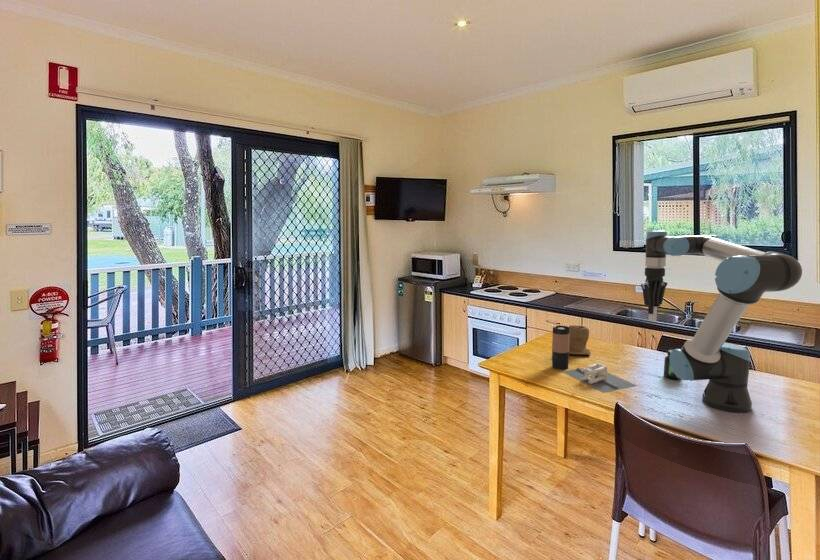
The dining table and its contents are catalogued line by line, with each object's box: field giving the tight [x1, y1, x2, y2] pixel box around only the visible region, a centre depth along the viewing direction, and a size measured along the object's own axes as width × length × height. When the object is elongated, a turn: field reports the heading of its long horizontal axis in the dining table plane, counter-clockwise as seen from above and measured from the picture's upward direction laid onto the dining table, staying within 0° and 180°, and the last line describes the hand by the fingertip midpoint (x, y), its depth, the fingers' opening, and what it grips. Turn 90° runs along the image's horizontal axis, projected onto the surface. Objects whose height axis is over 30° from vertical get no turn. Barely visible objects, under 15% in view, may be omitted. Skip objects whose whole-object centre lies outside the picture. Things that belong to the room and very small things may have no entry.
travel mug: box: [551, 325, 570, 371], centre depth 204 cm, size 8×8×20 cm
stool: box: [581, 361, 608, 384], centre depth 187 cm, size 6×6×9 cm
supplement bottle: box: [663, 349, 681, 381], centre depth 189 cm, size 7×7×12 cm
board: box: [561, 367, 638, 394], centre depth 190 cm, size 26×18×1 cm
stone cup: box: [568, 324, 592, 356], centre depth 225 cm, size 15×12×15 cm
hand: (652, 321), depth 185 cm, fingers closed
